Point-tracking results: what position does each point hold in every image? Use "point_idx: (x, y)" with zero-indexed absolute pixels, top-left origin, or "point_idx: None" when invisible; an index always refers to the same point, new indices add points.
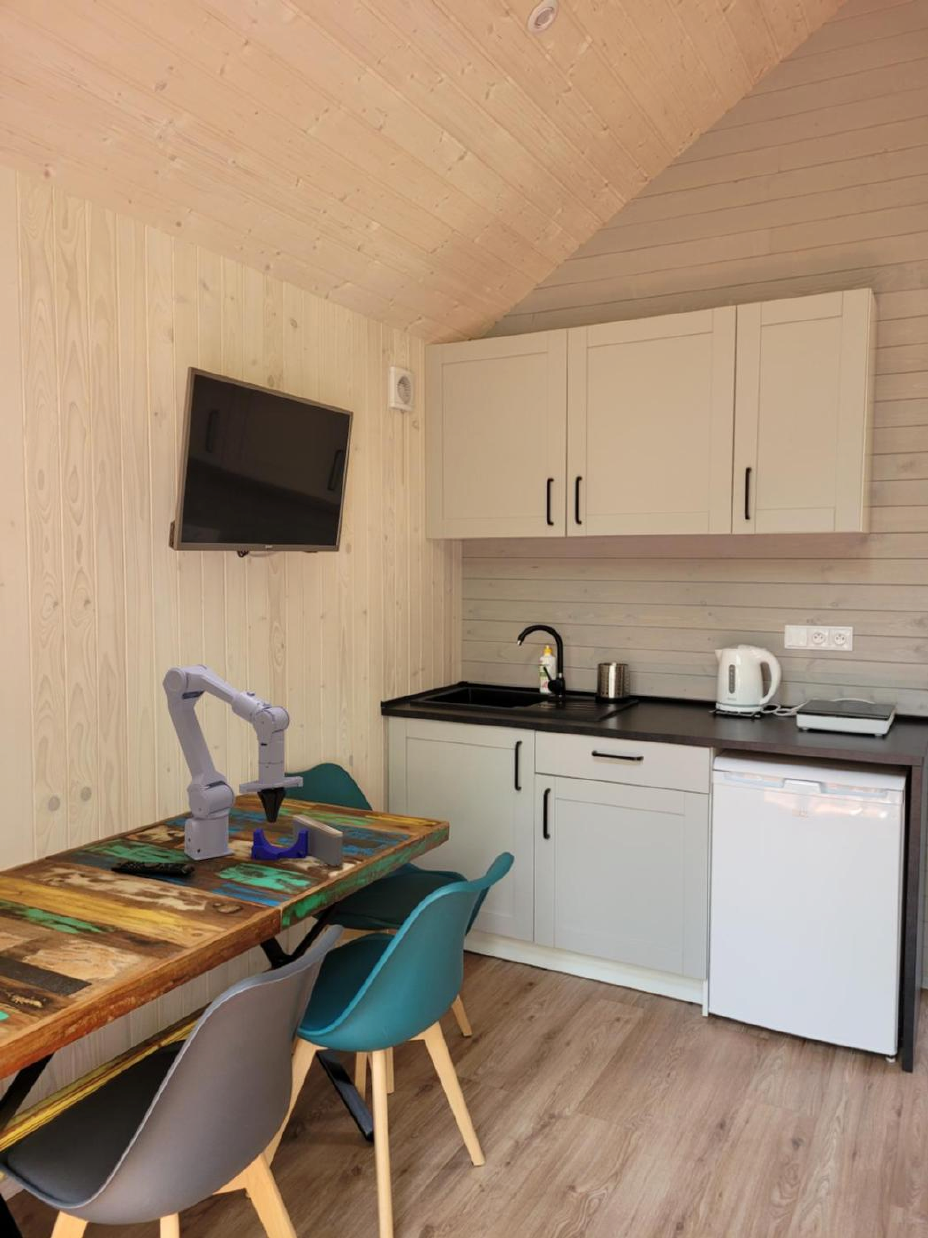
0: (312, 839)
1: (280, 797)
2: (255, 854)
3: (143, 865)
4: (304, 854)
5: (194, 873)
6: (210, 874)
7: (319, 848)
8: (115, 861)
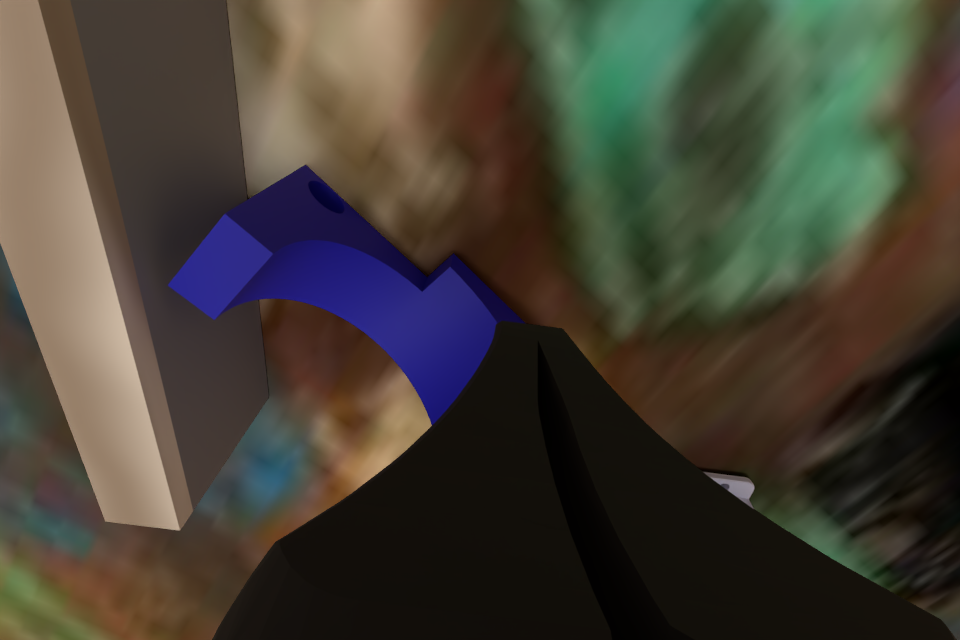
0: (184, 206)
1: (465, 526)
2: None
3: (913, 550)
4: (298, 174)
5: (905, 344)
6: (878, 278)
7: (189, 75)
8: None
